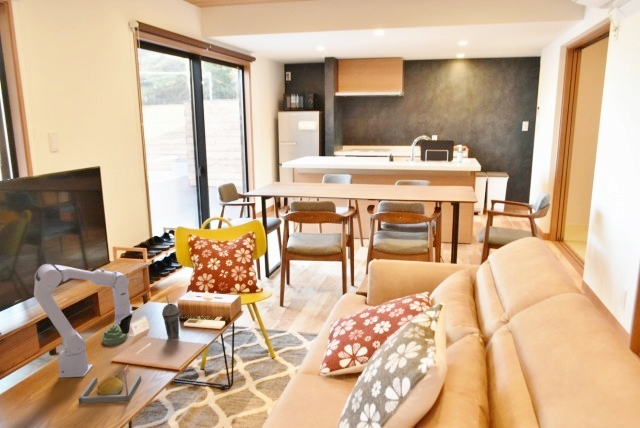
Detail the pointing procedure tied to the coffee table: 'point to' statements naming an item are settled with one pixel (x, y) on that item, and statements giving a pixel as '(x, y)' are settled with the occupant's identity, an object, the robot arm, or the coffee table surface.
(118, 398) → the frame
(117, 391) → the bread roll
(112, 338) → the decorative artifact
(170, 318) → the beverage cup
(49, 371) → the coffee table surface
